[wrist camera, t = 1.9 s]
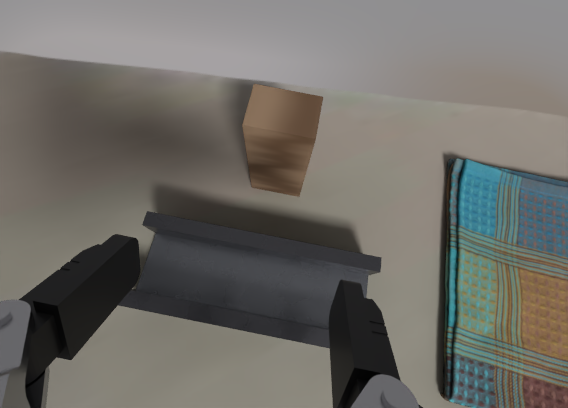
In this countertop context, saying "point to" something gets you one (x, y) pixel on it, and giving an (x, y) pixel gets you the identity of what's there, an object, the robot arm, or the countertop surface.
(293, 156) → the tan wooden pillar block
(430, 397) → the countertop surface
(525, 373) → the dish towel
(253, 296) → the floor track
